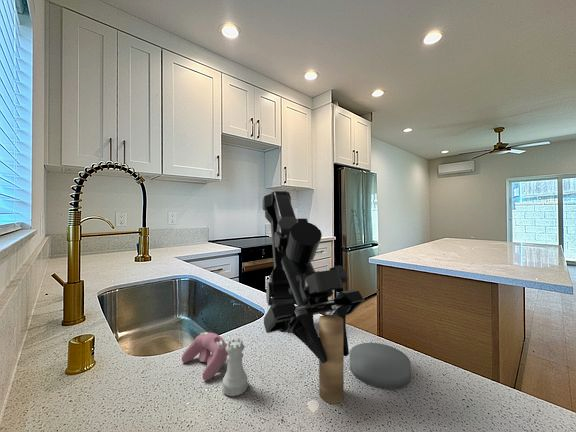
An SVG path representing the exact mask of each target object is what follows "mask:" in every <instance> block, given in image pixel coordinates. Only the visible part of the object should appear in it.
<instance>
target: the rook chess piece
mask: <svg viewBox="0 0 576 432" xmlns="http://www.w3.org/2000/svg"><path fill="white" fill-rule="evenodd" d="M227 344H228V345H227V346H226V348H225V350H226V351H227V353H228V356H227V359H226V360H227V366H226V372H225V374H224V377H223V378H222V382H221V383H222V385H221V391H222V392H223V393H224V394H225V395H226V396H228V397H238V396H240V395H242V394H244V393H245V391H246V390H247V389H248V387H249V382H248V378H249V377H248V375H247V374H246V371H245V370H244V365H243V364H244V363H243V357H244V354H243V351H244V350H245V348H246V347H245V344H244V343H243V340H242V339H240V338H237V339H236V341H235V338H232V339H231V340H228V341H227Z"/></svg>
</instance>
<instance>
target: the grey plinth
mask: <svg viewBox="0 0 576 432" xmlns="http://www.w3.org/2000/svg"><path fill="white" fill-rule="evenodd" d="M411 367H412V363H411V360H410V358H409V357H408V355H407V354H406V353H405V352H403V351H402V350H400V349H397V348H396V347H394V346H390V345H388V344H384V343H378V342H362V343H359V344H356V345H354V346H353V347H351V349H350V351H349V370H350V371H351V373H352V374H353V376H354V377H355V378H356V379H357V380H359V381H361V382H362V383H365V385H369V386H371V387H374V388H377V389H383V390H398V389H402V388H404V387H406V386H407V385H409V384H410V382H411V379H412V368H411Z"/></svg>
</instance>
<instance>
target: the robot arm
mask: <svg viewBox="0 0 576 432" xmlns="http://www.w3.org/2000/svg"><path fill="white" fill-rule="evenodd" d="M262 210H263V211H264V217H265V219H266V220H267V221H268V222H269V224H270V232H271V233H270V234H271V246H272V257H273V258H272V260H273V269H272V272H271V274H270V277H269V278H268V282H267V286H266V291H265V293H266V298H265V299H266V304H267V305H268V306H269V308H268V309H267V311H266V312H267V313H266V314H265V316H264V317H263V326H264V329H265V332H266V333H268V334H270V333H274V332H279V331H281V332H285V331H286V332H287V333H288V334H293V335H294V336H296V337H297V339H299V340H300V341H301V342H302V343H303V344H304V345H305V346H306V347H307V348H308V349H309V351H311V353H313V354H314V356H316V358H317V359H318V361H319V360H320V361H321V362H322V363H323V364H324V363H326V362H327V357H326V354H325V351H324V348H323V346H322V344H321V341H320V339H319V333H318V332H317V329H316V327H315V323H314V322H315V321H314V316H315V315H319V314H324V313H325V315H337V316H340V317H341V318H343V357H347V356H350V351H349V342H348V335H347V326H346V318H347V316H348V315H351V314H353V313H354V312H355V311H356V309H357V308H359V307H360V306H361V305H362V303H364V302H365V298H363V295H362V294H361V292H360V291H359V290H358V289H355V288H354V289H353V288H352V289H347V290H343V291H340V292H339V293H338V295H336V297H335V298H334V299H331V300H329V298H331V297H332V296H333V294H334V292H333V291H334V290H338V289H339V290H340V289H341V290H342V289H343V288H344V286H343V285H344V284H346V283H348V280H349V278H348V274H347V272H346V270H345V269H344V268H343V267H344V266H342V265H334V266H333V267H330V268H329V270H321V271H319V270H318V271H316V270H315V268H314V266H313V264H312V261H314V259H315V257H316V253H317V250H318V248H319V245H320V243H321V241H322V236H323V235H322V231H321V230H320V229H319V227H317V225H315V224H313V223H312V222H309V221H308V218H297V217H296V214H295V211H294V208H293V206H292V196H291V194H290V191H287V190H274V191H271V193H269V194H266V195H264V196H263V198H262ZM295 304H296V305H295Z"/></svg>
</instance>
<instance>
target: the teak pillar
mask: <svg viewBox="0 0 576 432" xmlns="http://www.w3.org/2000/svg"><path fill="white" fill-rule="evenodd" d="M318 336H319V339H320V341H321V344H322V346H323V348H324V351H325V354H326V357H327V362H326V363H324V364H323V363H322V362H321V361H320V360H319V359H318V394H319V397H320V399H321V400H322V401H323V402H325V403H327V404H339V403H341V402H342V401H344V397H345V395H344V393H345V391H344V390H345V388H344V387H345V386H344V384H345V383H344V378H345V377H344V376H345V375H344V373H345V372H344V369H345V368H344V364H345V363H344V357H345V356H344V355H343V318H341V317H340V316H337V315H326V314H323V315H321V316H319V318H318Z"/></svg>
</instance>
